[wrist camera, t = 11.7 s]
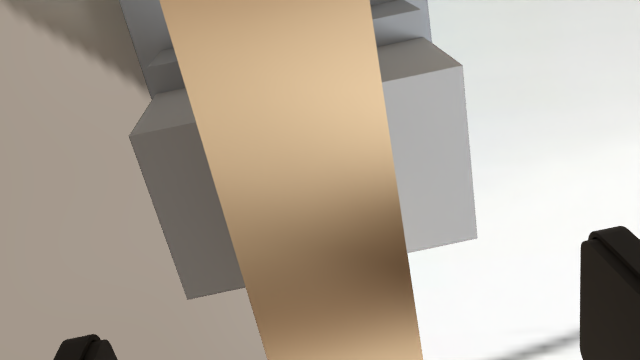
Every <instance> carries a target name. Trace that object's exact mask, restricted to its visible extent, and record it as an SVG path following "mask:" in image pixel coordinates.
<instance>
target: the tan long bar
mask: <svg viewBox="0 0 640 360" xmlns="http://www.w3.org/2000/svg"><path fill="white" fill-rule="evenodd" d="M159 1H160V4H161V7H162V11H163V14H164V17H165V21H166V24H167V27H168V31H169V34H170V37H171V40H172V44H173V47H174V50H175V54H176V57H177V60H178V64H179V67H180V70H181V74H182V77H183V80H184V84H185V87H186V90H187V94H188V97H189V100H190V104H191V107H192V110H193V114H194V117H195V120H196V124H197V127H198V130H199V134H200V137H201V140H202V143H203V147H204V150H205V153H206V157H207V160H208V163H209V167H210V170H211V173H212V177H213V180H214V183H215V187H216V190H217V193H218V197H219V200H220V203H221V207H222V210H223V213H224V217H225V220H226V223H227V227H228V230H229V233H230V237H231V240H232V243H233V246H234V250H235V253H236V256H237V260H238V263H239V266H240V270H241V273H242V276H243V280H244V283H245V286H246V290H247V293H248V296H249V299H250V303H251V306H252V309H253V313H254V316H255V320H256V323H257V326H258V329H259V333H260V336H261V339H262V343H263V346H264V349H265V353H266V356H267V359H268V360H423V356H422V349H421V342H420V336H419V329H418V322H417V316H416V309H415V302H414V295H413V289H412V282H411V275H410V269H409V262H408V255H407V248H406V242H405V235H404V228H403V222H402V215H401V208H400V201H399V195H398V188H397V181H396V174H395V168H394V161H393V154H392V148H391V141H390V134H389V127H388V121H387V114H386V107H385V101H384V94H383V87H382V80H381V74H380V67H379V60H378V54H377V47H376V40H375V33H374V27H373V20H372V13H371V6H370V0H159Z"/></svg>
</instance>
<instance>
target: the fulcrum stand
mask: <svg viewBox="0 0 640 360" xmlns="http://www.w3.org/2000/svg"><path fill="white" fill-rule="evenodd" d="M119 2H120V5H121V8H122V11H123V14H124V17H125V20H126V23H127V26H128V29H129V32H130V35H131V38H132V41H133V44H134V47H135V51H136V54H137V57H138V60H139V63H140V66H141V69H142V72H143V75H144V78H145V81H146V84H147V87H148V90H149V93H150V96H151V99H152V101H151V102H150V104H149V106H148V107H147V109H146V110H145V112H144V113H143V115H142V117H141V118H140V120H139V121H138V123H137V125H136V126H135V127H134V129H133V131H132V132H131V134H130V135H129V138H130V141H131V144H132V146H133V149H134V152H135V155H136V157H137V160H138V163H139V166H140V169H141V171H142V174H143V177H144V180H145V183H146V185H147V188H148V191H149V194H150V196H151V199H152V202H153V205H154V208H155V210H156V213H157V216H158V219H159V221H160V224H161V227H162V230H163V233H164V235H165V238H166V241H167V244H168V246H169V249H170V252H171V255H172V258H173V260H174V263H175V266H176V269H177V272H178V275H179V277H180V280H181V283H182V286H183V288H184V291H185V294H186V297H187V299H193V298H198V297H203V296H207V295H212V294H217V293H221V292H226V291H231V290H236V289H240V288H245V287H246V286H245V283H244V280H243V276H242V273H241V270H240V266H239V263H238V260H237V256H236V253H235V250H234V246H233V243H232V240H231V237H230V233H229V230H228V227H227V223H226V220H225V217H224V213H223V210H222V207H221V203H220V200H219V197H218V193H217V190H216V187H215V183H214V180H213V177H212V173H211V170H210V167H209V163H208V160H207V157H206V153H205V150H204V147H203V143H202V140H201V137H200V134H199V130H198V127H197V124H196V120H195V117H194V114H193V110H192V107H191V104H190V100H189V97H188V94H187V90H186V87H185V84H184V80H183V77H182V74H181V70H180V67H179V64H178V60H177V57H176V54H175V50H174V47H173V44H172V40H171V37H170V34H169V31H168V27H167V24H166V21H165V17H164V14H163V11H162V7H161V4H160V1H159V0H119ZM370 6H371V13H372V20H373V27H374V33H375V40H376V47H377V54H378V60H379V67H380V74H381V80H382V87H383V94H384V101H385V107H386V114H387V121H388V127H389V134H390V141H391V148H392V154H393V161H394V168H395V174H396V181H397V188H398V195H399V201H400V208H401V215H402V222H403V228H404V235H405V242H406V248H407V253H410V252H415V251H420V250H425V249H429V248H434V247H439V246H443V245H448V244H453V243H458V242H462V241H467V240H472V239H476V238H477V228H476V216H475V204H474V193H473V181H472V169H471V158H470V146H469V135H468V123H467V111H466V100H465V88H464V76H463V65H461V64H460V63H459V62H457V61H456V60H454V59H453V58H452V57H450V56H449V55H448V54H446V53H445V52H444V51H442V50H441V49H439V48H438V47H437V46H435V45H434V44H433V43H432V39H431V29H430V20H429V11H428V1H427V0H370Z"/></svg>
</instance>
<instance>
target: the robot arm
mask: <svg viewBox="0 0 640 360" xmlns="http://www.w3.org/2000/svg"><path fill="white" fill-rule="evenodd" d="M580 351H581V355H582V358H583V360H640V239H638V238H637V237H636V236H635V235H634V234H633V233H632V232H630V231H629V230H628V229H627V228H625V227H624V226H618V227H613V228H608V229H603V230H598V231H593V232H592V233H590V235H589V238H588V240H587V241H584V242H582V244H581V275H580ZM54 360H117V357H116V355H115V353H114V351H113V349H112V347H111V345H110V343H109V341H107V340H100V338H99V337H98V336H97V335H94V334H92V335H87V336H82V337H77V338H73V339H67V340H65V341H63V342H62V344H61V345H60V348H59V350H58V351H57V354H56V356H55V358H54Z"/></svg>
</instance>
